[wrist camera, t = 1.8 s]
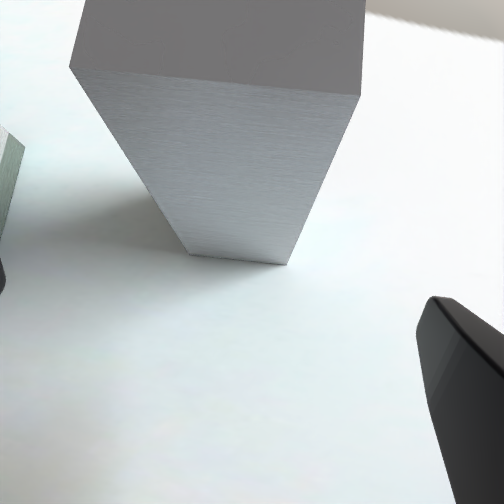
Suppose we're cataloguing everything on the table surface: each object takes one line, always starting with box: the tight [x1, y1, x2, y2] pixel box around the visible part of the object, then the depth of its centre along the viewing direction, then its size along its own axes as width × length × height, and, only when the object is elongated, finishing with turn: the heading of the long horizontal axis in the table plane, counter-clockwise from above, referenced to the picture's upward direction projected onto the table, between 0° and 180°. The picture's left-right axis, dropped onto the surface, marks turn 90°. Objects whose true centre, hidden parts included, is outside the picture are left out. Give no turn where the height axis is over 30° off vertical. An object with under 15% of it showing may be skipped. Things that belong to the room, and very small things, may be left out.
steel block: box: [69, 0, 366, 265], centre depth 14 cm, size 4×5×14 cm
